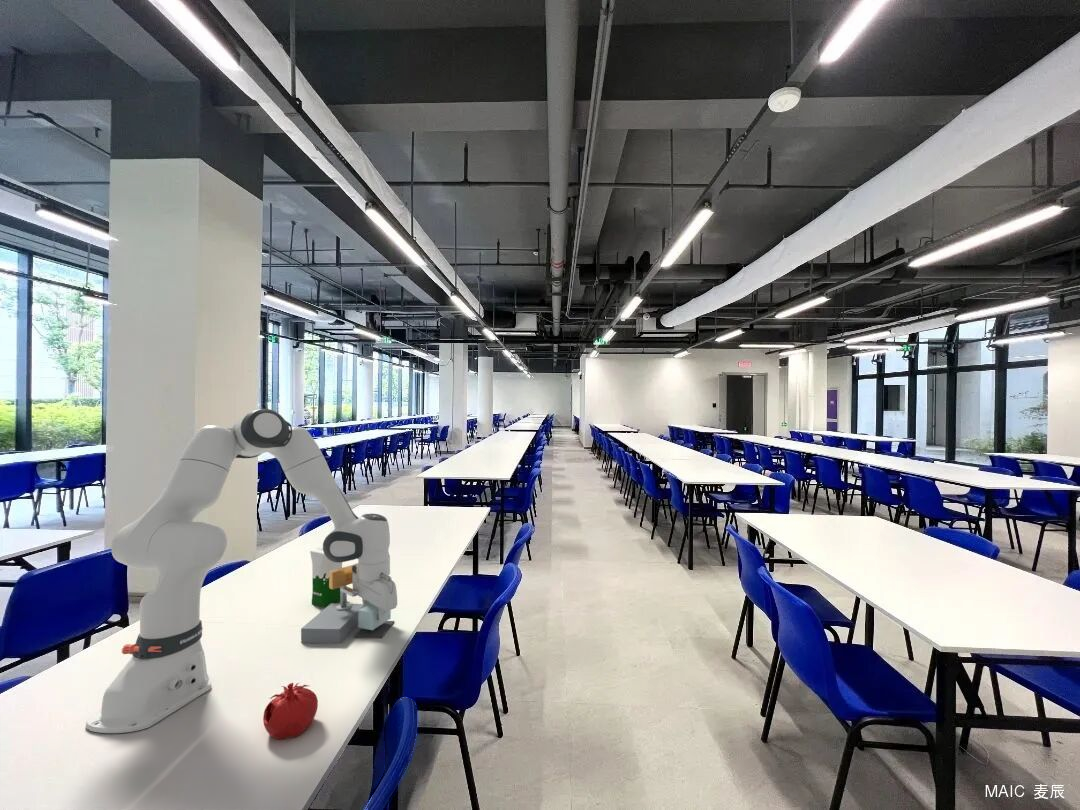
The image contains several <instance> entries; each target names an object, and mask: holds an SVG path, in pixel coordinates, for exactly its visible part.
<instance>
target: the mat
mask: <svg viewBox="0 0 1080 810" xmlns="http://www.w3.org/2000/svg"><path fill="white" fill-rule="evenodd" d="M394 623H395V620H388V621H386V622H384V623H383V624H381V625H380V626H378V627H377V628H375V629H374V630H368V629H363V628H359V631H357V632H356V633H355V634H354V636H353V638H354V639H355V638H356V639H357V638H358V639H359V638H360V639H382V638H383V637H384V636H385V635H386V633H387V632H388V631H389V630H390V628H391V627H392V626H393V625H394Z"/></svg>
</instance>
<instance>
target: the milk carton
mask: <svg viewBox="0 0 1080 810" xmlns="http://www.w3.org/2000/svg"><path fill="white" fill-rule="evenodd" d="M309 553H310V559H311V563H312V565H311V566H312V567H311V569H312V577H311V578H312V592H311V605H314V606H316V607H321V608H323V609H325V608H326V607H327V606H329V605H330V604H331V603H335V604H339V603H340V587H339V588H336V589H333V590H332V589H330V588H329V571H332V570H336V569H340V568H343V562H339V563H338V562H333V561H331V560H329V559H328V558H327V557H326V556H325V554H324V552H323V546H321V547H317V548H315V549H312V550H309Z"/></svg>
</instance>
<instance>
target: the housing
mask: <svg viewBox="0 0 1080 810" xmlns="http://www.w3.org/2000/svg"><path fill="white" fill-rule="evenodd" d="M363 607H364V605H363V603H348V602H347V606H346V607H344V608H341V607H340V603H336V604H335V603H331V604H330V605H329V606H327V607H326V608H323V610H321V611H320V612H319V613H318V614H317V615H316V616H314V617H313V618H312V619H311V620H309V621H308V622H307V623H306V624H304V626H302V627H301V629H300V638H301V639H300V642H301V644H341V643H342V642H343V641H344V640H345V639H346V638H347V637H348V636H349V635H350V633H351V632H352V631H353V630H354V629H355V628H356V627H358V610H360V609H361V608H363Z"/></svg>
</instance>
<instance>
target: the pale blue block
mask: <svg viewBox="0 0 1080 810" xmlns="http://www.w3.org/2000/svg"><path fill="white" fill-rule="evenodd" d="M379 611H380V610H378V607H377V606H375V605H374V604H372V603H370V604H368V605H367V606H365V607H363V608H361V609H360V610H358V625H357V627H358V628H359V629H361V628H363V629H368V630H374V629H375V628H377V627H378V626H380V625H381V624H383V623H384V622H386V621H390V620H391V618H392V617H391V613H392V612H391V611H392V610H389V611H387V612H386V614H385V620H384V621H381V622H380V621H378V620H377V614H379Z"/></svg>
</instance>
